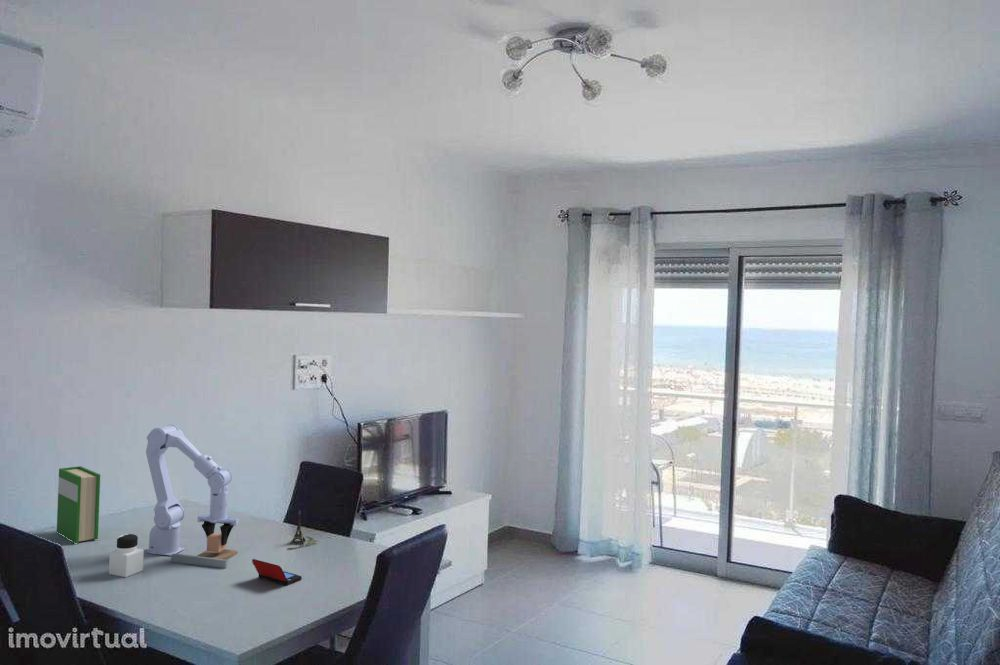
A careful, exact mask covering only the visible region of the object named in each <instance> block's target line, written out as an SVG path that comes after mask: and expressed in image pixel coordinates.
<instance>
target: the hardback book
mask: <svg viewBox="0 0 1000 665" xmlns="http://www.w3.org/2000/svg"><path fill="white" fill-rule="evenodd" d="M57 487H58V489H57V514H56V517H57V518H56V533H57V532H58V533H60V534H62V535H64V536H65V537H67V538H68V539H70V540H72V541H73V542H75V543H78V542H83V541H84V542H85V541H90V540H93V539H98V540H99V523H100V522H99V521H100V520H99V518H100V515H99V514H100V493H101V492H100V491H101V474H100V473H98V472H95V471H93V470H91V469H88V468H86V467H83V466H82V465H79V466H78V465H77V466H71V467H62V468H61V467H60V468H58V486H57Z"/></svg>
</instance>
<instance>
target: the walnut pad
mask: <svg viewBox="0 0 1000 665" xmlns="http://www.w3.org/2000/svg"><path fill="white" fill-rule="evenodd" d="M237 554H238V550H235V549H227V548H225V549H224V550H222V551H220V552H212V551H207V550H205V551H203V552H201V553H200V554H198V555H196V556H200V557H208V558H217V559H225V560H229V559H231V558H232V557H234V556H236V555H237Z"/></svg>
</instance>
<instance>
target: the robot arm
mask: <svg viewBox="0 0 1000 665" xmlns="http://www.w3.org/2000/svg"><path fill="white" fill-rule="evenodd" d="M146 440H147V445H146V448H145V449H146V450H145V455H146V459H147V463H148V467H149V473H150V476H151V480H152V484H153V488H154V493H155V497H156V501H157V502H156V504H155V506H154V509H153V510H154V517H153V522H154V524H155V525H153V527H152V528H151V529H150V532H149V537H148V539H149V540H148V551H147V554H154V555H162V556H169V557H170V556H171V557H172V554H173V553H174V554H179V553H180V552H182V551H184V550H185V549H186V548H185V547H181V546H180V545H181V544H180V542H181V523H182V522H181V521H182V520H184V519H185V509H184V507H183V506H182V505H181V503H180V500H179V499H178V498H176V497H175V494H174V489H173V486H172V482H171V477H170V474H169V470H168V466H167V461H166V456H165V452H167V450H168V449H169V448H177V449H178V450H179V451H180V452H181V453H183V454H184V455H185V456H186V457H187V458H189V460H191V461H192V462H193V468H195V469H196V470H197V471H198V472H199V473H200V474H201V475H202V476H203V477H204V478H206V480H207V484H208V487H209V488H210V495H209V496H210V497H209V498H210V500H209V502H210V503H209V514H201V515H198V516H197V522H198V523H203V524H201V528H202V529H203V532H204V533H205V537H207V536H209V535H211V534H213V533H215V528H216V524H221V525H220V526H219V528H220V533H221V544H222V545H223V546H224V545H225V544H226V545H227V544H228V540H229V539H228V538H229V537H230V534H231V531H232V529H233V528H234V527H237V526H239V524H240V519H239V518H235V517H232V516H228V504H229V503H228V502H229V501H228V500H229V499H228V498H229V484H230V483H231V482H232V480H233V479H232V478H233V477H232V473H231V472H230V470H229V469H227V468H223V467H222V466H221V465H218V463H217V462H215V461H214V460H213V457H212V456H211V455H208V454H202V453H201V452H200V451H199V450H198V449H197V448H196V447H195V446H194V445H193V443H192V442H190V440H188V438H187V437H186V436H185V434H184V431H183V430H181V429H179V427H178V426H177V425H175V424H168V425H165V426H161V427H155V428H153V429H151V430H150V432H149V433H148V435H147V436H146Z"/></svg>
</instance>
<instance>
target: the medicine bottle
mask: <svg viewBox="0 0 1000 665" xmlns="http://www.w3.org/2000/svg"><path fill="white" fill-rule="evenodd" d="M138 539H139V537H138V535H137V534H133V533H126V534H125V533H124V534H121V535H119V536H118V537H117V538H116V548H115V550H112V551H110V552H109V560H108V561H109V562H108V563H109V564H108V574H109V575H112V576H118V577H122V578H128V577H131V576H133V575H136V574H139V573H141V572H142V571H143V570H144V549H143V548H138V542H139V540H138Z"/></svg>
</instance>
